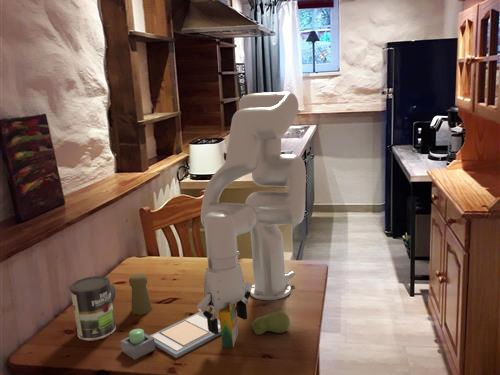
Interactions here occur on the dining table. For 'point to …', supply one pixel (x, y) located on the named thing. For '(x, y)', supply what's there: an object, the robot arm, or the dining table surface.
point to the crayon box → (228, 326)
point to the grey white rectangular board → (184, 335)
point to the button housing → (138, 347)
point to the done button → (136, 336)
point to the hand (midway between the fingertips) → (228, 325)
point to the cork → (140, 294)
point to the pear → (271, 323)
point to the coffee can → (93, 308)
